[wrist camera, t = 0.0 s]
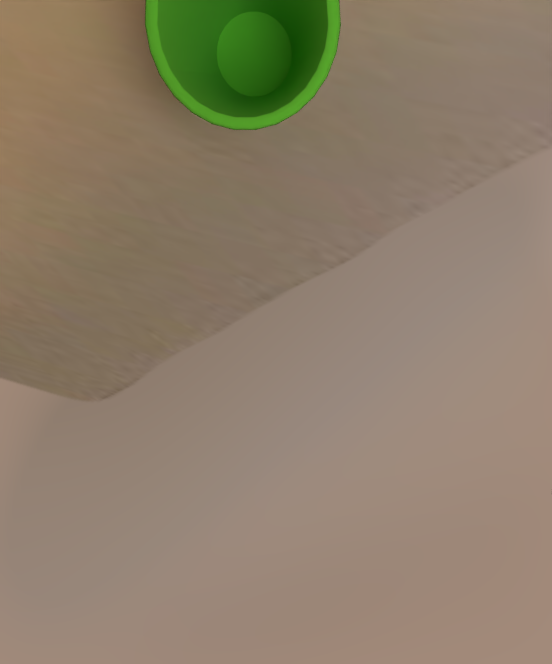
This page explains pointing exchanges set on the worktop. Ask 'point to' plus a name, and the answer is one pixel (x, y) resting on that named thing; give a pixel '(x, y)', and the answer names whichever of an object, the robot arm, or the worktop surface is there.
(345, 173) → the worktop surface
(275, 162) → the worktop surface
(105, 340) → the worktop surface
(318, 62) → the cup
